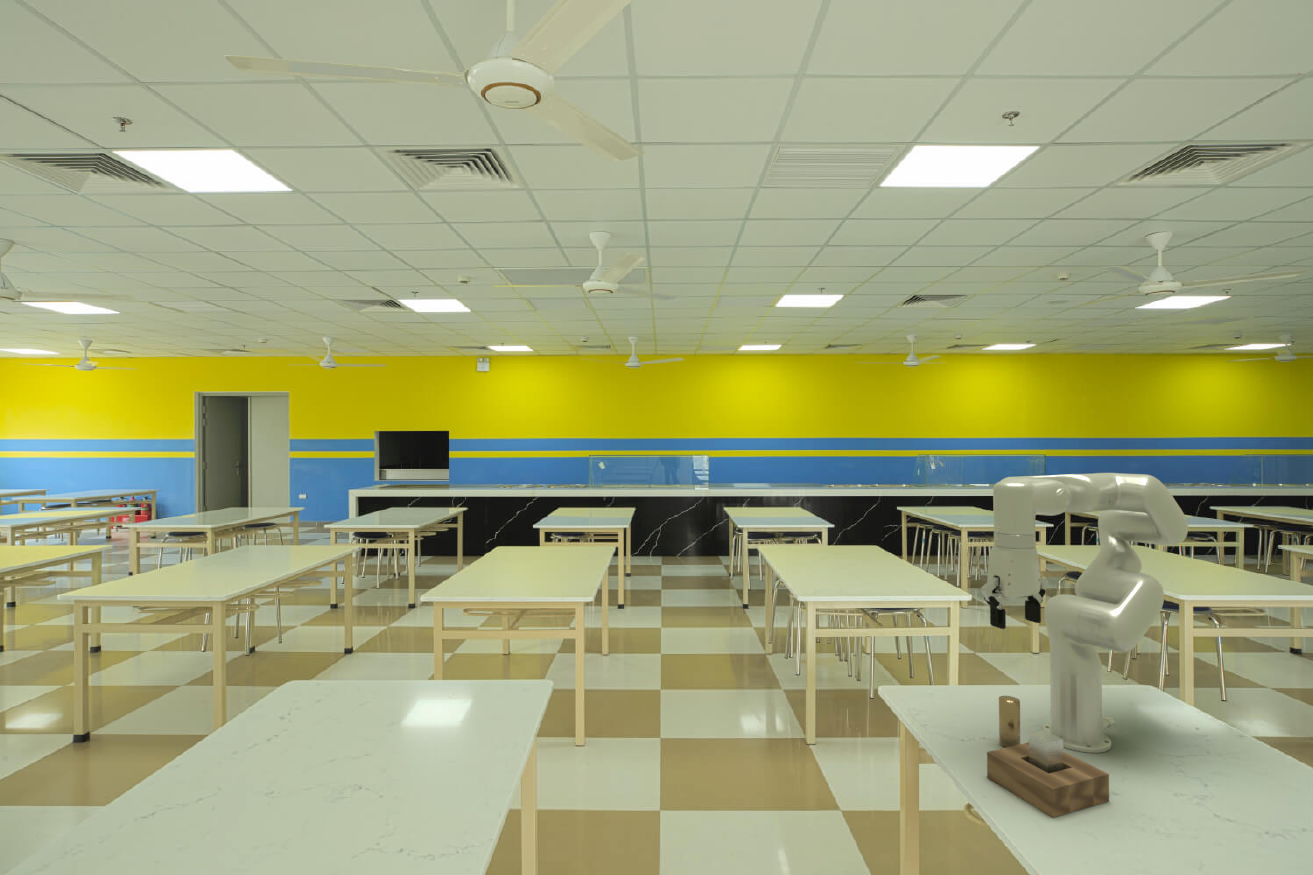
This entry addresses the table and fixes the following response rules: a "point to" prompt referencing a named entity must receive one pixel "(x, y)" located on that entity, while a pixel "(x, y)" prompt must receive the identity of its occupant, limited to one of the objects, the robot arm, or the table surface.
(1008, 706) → the round peg
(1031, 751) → the square peg
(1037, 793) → the socket block
